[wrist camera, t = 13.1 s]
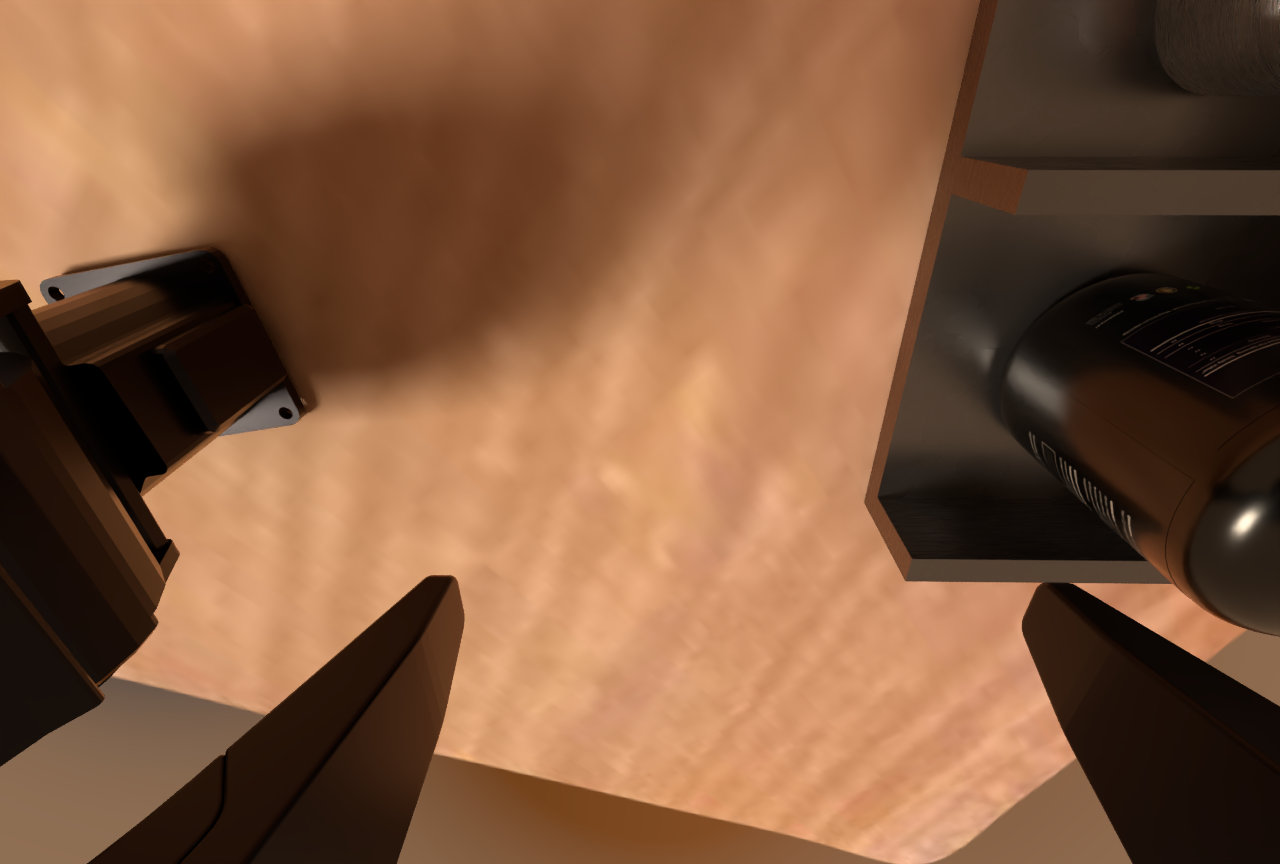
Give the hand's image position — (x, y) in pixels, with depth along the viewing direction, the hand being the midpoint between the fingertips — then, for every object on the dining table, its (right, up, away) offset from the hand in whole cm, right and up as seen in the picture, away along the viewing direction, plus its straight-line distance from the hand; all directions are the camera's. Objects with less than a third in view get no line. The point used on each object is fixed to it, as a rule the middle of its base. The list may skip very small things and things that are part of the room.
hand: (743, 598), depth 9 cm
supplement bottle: (+14, +5, +11) cm, 18 cm away
